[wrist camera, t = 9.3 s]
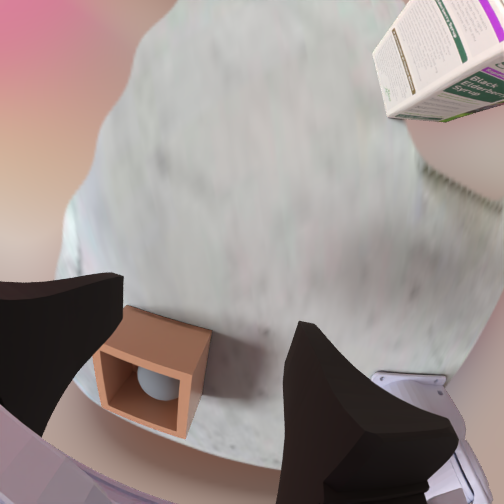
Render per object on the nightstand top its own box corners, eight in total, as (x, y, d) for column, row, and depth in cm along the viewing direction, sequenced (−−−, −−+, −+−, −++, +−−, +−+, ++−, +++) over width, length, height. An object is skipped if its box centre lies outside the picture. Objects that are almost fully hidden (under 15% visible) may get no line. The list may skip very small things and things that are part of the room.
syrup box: (385, 119, 17) (526, 52, 3) (368, 51, 15) (454, -65, 1) (445, 123, 16) (584, 93, 2) (428, 58, 15) (535, -14, 1)
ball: (188, 339, 23) (196, 374, 19) (184, 376, 24) (192, 410, 20) (137, 336, 21) (136, 372, 17) (137, 374, 22) (139, 410, 18)
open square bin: (212, 330, 22) (192, 375, 16) (201, 395, 24) (185, 439, 19) (126, 304, 23) (90, 337, 17) (128, 370, 25) (101, 407, 19)
